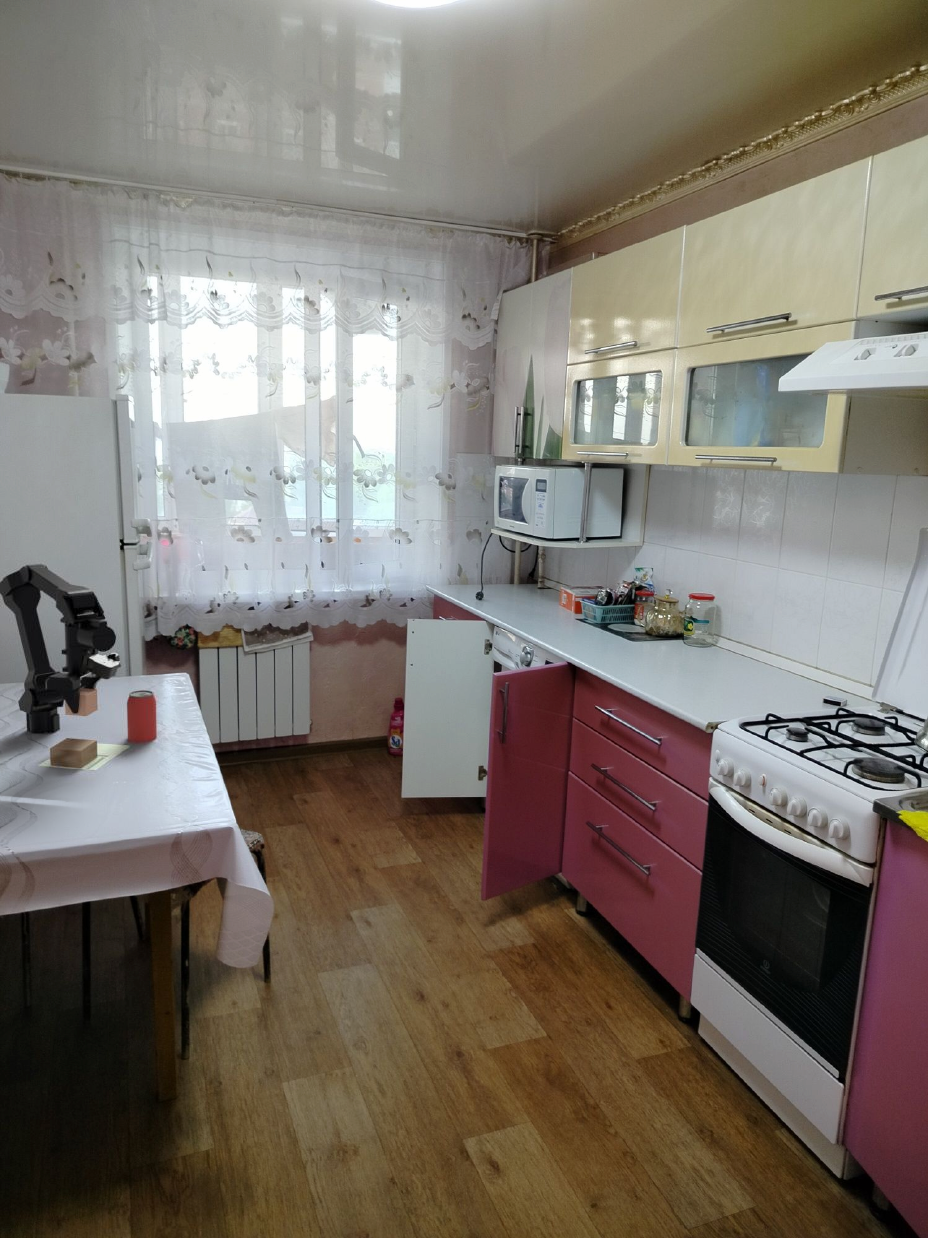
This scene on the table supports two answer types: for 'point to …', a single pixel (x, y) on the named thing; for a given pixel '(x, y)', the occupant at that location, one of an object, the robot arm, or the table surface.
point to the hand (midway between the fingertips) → (81, 709)
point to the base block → (73, 753)
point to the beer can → (141, 716)
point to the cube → (85, 703)
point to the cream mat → (103, 753)
